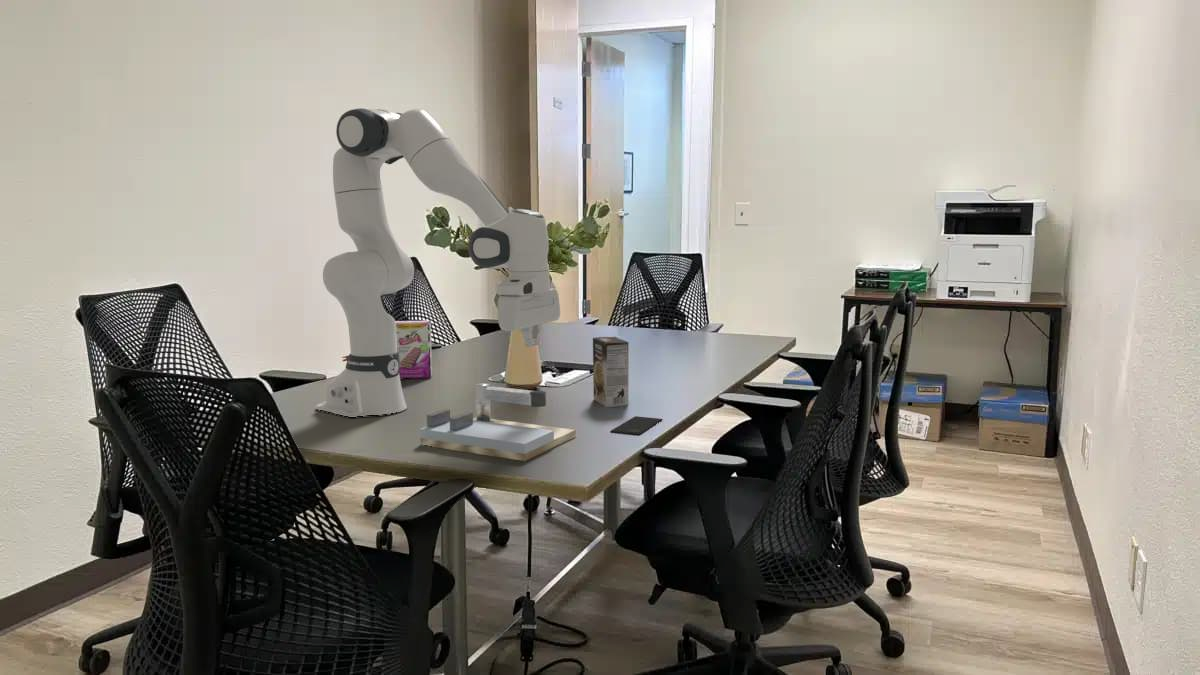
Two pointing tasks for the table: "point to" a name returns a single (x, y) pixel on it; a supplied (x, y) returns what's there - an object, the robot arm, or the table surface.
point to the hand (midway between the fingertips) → (532, 345)
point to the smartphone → (636, 426)
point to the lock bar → (504, 398)
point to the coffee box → (610, 371)
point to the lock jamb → (491, 436)
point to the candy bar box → (414, 349)
